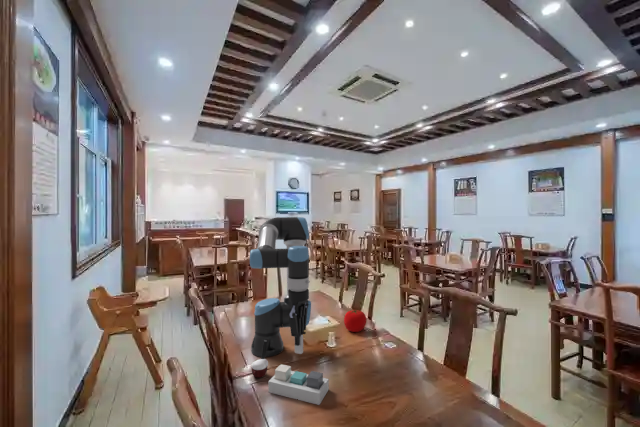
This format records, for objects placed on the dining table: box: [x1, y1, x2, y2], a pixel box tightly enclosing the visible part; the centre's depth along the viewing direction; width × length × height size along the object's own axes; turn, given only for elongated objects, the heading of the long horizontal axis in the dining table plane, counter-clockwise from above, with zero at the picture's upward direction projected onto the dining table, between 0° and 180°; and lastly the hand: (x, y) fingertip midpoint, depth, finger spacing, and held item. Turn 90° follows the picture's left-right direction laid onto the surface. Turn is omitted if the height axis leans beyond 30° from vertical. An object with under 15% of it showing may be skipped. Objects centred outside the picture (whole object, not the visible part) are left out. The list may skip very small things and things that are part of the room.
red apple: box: [343, 309, 367, 333], centre depth 166 cm, size 12×13×11 cm
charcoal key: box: [307, 370, 324, 390], centre depth 109 cm, size 4×4×4 cm
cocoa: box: [250, 340, 269, 379], centre depth 122 cm, size 10×6×12 cm, turn 139°
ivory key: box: [274, 364, 292, 382], centre depth 114 cm, size 4×4×4 cm
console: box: [267, 370, 330, 406], centre depth 111 cm, size 20×9×4 cm, turn 68°
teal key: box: [291, 370, 308, 386], centre depth 111 cm, size 4×4×4 cm
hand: (298, 352), depth 111 cm, fingers closed
